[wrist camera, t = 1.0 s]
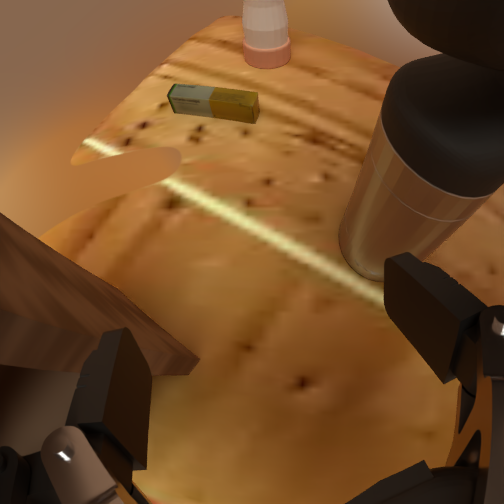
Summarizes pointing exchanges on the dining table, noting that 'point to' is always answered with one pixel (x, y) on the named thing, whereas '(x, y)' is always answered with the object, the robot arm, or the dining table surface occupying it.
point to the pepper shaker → (265, 33)
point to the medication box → (214, 102)
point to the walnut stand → (59, 335)
